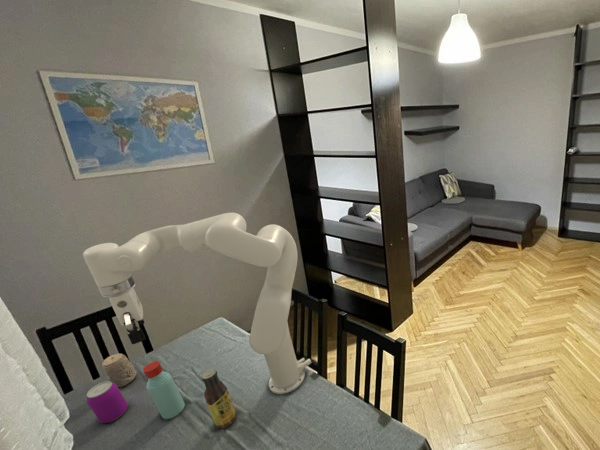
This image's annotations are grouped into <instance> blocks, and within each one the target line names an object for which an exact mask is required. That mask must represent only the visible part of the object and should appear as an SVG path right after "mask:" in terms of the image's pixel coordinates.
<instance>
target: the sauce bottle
mask: <svg viewBox="0 0 600 450" xmlns="http://www.w3.org/2000/svg"><path fill="white" fill-rule="evenodd" d="M200 377H201V381H202V382H203V383H204V387H205V390H204V393H203V394H204V399H205V403H206V406H207V408H208V411H209V414H210V416H211V418H212V422H213V423H214V425H215V426H216V428H217V429H225V428H227V427H229V426H230V425H231V424H233V423H234V421H235V420H236V416H237V414H236V409H235V406H234V404H233V400H232V397H231V395H230V393H229V389H228V387H227V386H226V385H225V384H224V382H223V381H222V380H220V378H219V376H218V371H217V370H216V368H210V369H207V370H205V371H204V372H203V373H202V374H201V376H200Z"/></svg>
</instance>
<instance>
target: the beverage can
mask: <svg viewBox="0 0 600 450" xmlns="http://www.w3.org/2000/svg"><path fill="white" fill-rule="evenodd" d="M86 403H87V405H88V406H89V408H90V409H91V410H92V412H93V414H94V416H95V417H96V418H97V420H98V422H100V423H101V424H108V423H112V422H115V421H116V420H118V419H120V418H121V417H122V416H123V415H124V414H125V412H126V411H127V410H128V407H129V404H128V402H127V400H126V399H125V397H124V396H123V394H122V392H121V390H120V387H117V385H116V384H114V383H112V382H110V381H109V380H105V381H101V382H100V383H98V384H95V385H93V386H92V387H91V388H90V389H89V390H88V391H87V393H86Z"/></svg>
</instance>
